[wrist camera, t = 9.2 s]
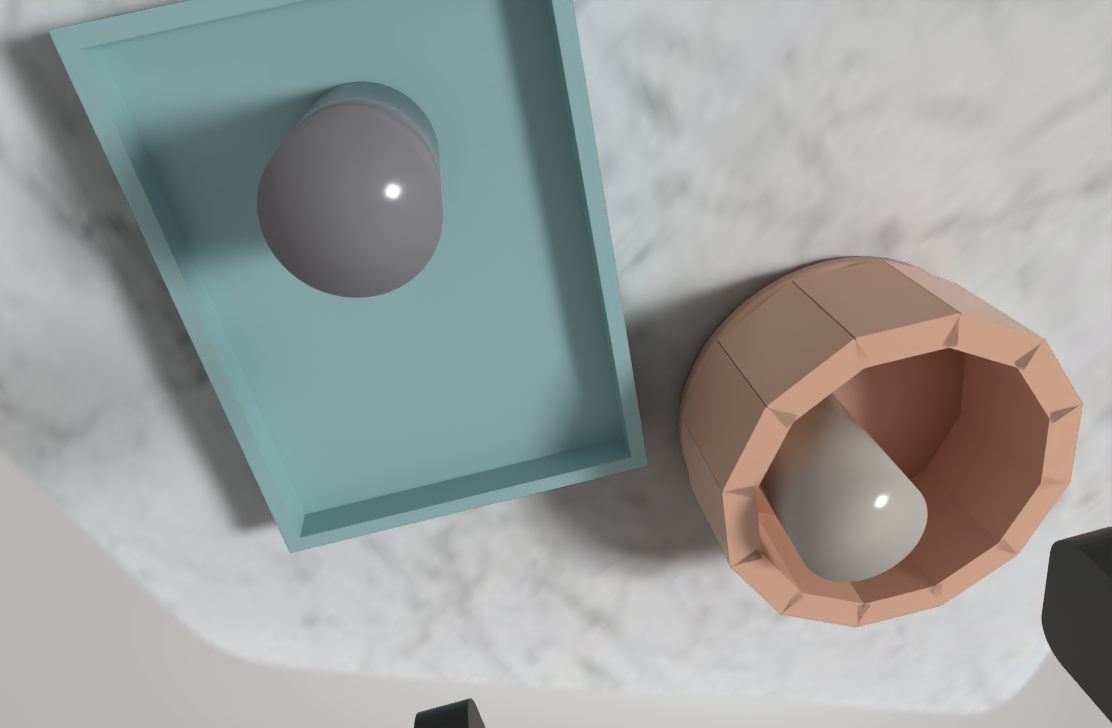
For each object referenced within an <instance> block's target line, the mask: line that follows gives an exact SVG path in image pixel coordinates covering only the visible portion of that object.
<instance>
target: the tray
mask: <svg viewBox="0 0 1112 728" xmlns="http://www.w3.org/2000/svg"><path fill="white" fill-rule="evenodd" d="M48 32H49V34H50V36H51V38H52V40H53V43H54V45H55V47H56V49H57V51H58V53H59V56H60V58H61V60H62V62H63V64H64V66H65V68H66V71H67V73H68V75H69V77H70V79H71V81H72V84H73V86H74V88H75V90H76V92H77V94H78V97H79V99H80V101H81V103H82V105H83V107H84V109H85V112H86V114H87V116H88V118H89V120H90V122H91V125H92V127H93V129H94V131H95V133H96V135H97V138H98V140H99V142H100V144H101V146H102V148H103V151H104V153H105V155H106V157H107V159H108V161H109V163H110V166H111V168H112V170H113V172H114V174H115V176H116V179H117V181H118V183H119V185H120V187H121V189H122V192H123V194H124V196H125V198H126V200H127V202H128V205H129V207H130V209H131V211H132V213H133V215H134V217H135V220H136V222H137V224H138V226H139V228H140V230H141V233H142V235H143V237H144V239H145V241H146V243H147V246H148V248H149V250H150V252H151V254H152V256H153V259H154V261H155V263H156V265H157V267H158V269H159V271H160V274H161V276H162V278H163V280H164V282H165V284H166V287H167V289H168V291H169V293H170V295H171V297H172V300H173V302H174V304H175V306H176V308H177V310H178V312H179V315H180V317H181V319H182V321H183V323H184V325H185V328H186V330H187V332H188V334H189V336H190V338H191V341H192V343H193V345H194V347H195V349H196V351H197V354H198V356H199V358H200V360H201V362H202V364H203V366H204V369H205V371H206V373H207V375H208V377H209V379H210V382H211V384H212V386H213V388H214V390H215V392H216V395H217V397H218V399H219V401H220V403H221V405H222V408H223V410H224V412H225V414H226V416H227V418H228V420H229V423H230V425H231V427H232V429H233V431H234V433H235V436H236V438H237V440H238V442H239V444H240V446H241V449H242V451H243V453H244V455H245V457H246V459H247V462H248V464H249V466H250V468H251V470H252V472H253V474H254V477H255V479H256V481H257V483H258V485H259V487H260V490H261V492H262V494H263V496H264V498H265V500H266V503H267V505H268V507H269V509H270V511H271V513H272V515H273V518H274V520H275V522H276V524H277V526H278V528H279V531H280V533H281V535H282V537H283V539H284V541H285V544H286V546H287V548H288V550H289V552H290V553H293V552H297V551H301V550H305V549H309V548H313V547H318V546H322V545H326V544H330V543H334V542H338V541H342V540H346V539H350V538H355V537H359V536H363V535H367V534H371V533H375V532H379V531H383V530H387V529H391V528H396V527H400V526H404V525H408V524H412V523H416V522H420V521H424V520H428V519H433V518H437V517H441V516H445V515H449V514H453V513H457V512H461V511H465V510H470V509H474V508H478V507H482V506H486V505H490V504H494V503H498V502H502V501H506V500H511V499H515V498H519V497H523V496H527V495H531V494H535V493H539V492H543V491H548V490H552V489H556V488H560V487H564V486H568V485H572V484H576V483H580V482H585V481H589V480H593V479H597V478H601V477H605V476H609V475H613V474H617V473H622V472H626V471H630V470H634V469H638V468H642V467H646V466H648V462H647V456H646V450H645V444H644V437H643V431H642V425H641V419H640V413H639V407H638V400H637V394H636V388H635V382H634V376H633V370H632V363H631V357H630V351H629V345H628V339H627V332H626V326H625V320H624V314H623V308H622V302H621V295H620V289H619V283H618V277H617V271H616V265H615V258H614V252H613V246H612V240H611V234H610V228H609V221H608V215H607V209H606V203H605V197H604V191H603V184H602V178H601V172H600V166H599V160H598V154H597V147H596V141H595V135H594V129H593V123H592V116H591V110H590V104H589V98H588V92H587V86H586V79H585V73H584V67H583V61H582V55H581V49H580V42H579V36H578V30H577V24H576V18H575V12H574V5H573V0H188V1H183V2H178V3H174V4H169V5H164V6H160V7H155V8H150V9H146V10H141V11H136V12H132V13H127V14H123V15H118V16H113V17H109V18H104V19H99V20H95V21H90V22H85V23H81V24H76V25H71V26H67V27H62V28H58V29H53V30H48ZM356 81H367V82H375V83H379V84H383V85H387V86H389V87H392V88H394V89H396V90H398V91H400V92H401V93H403V94H405V95H406V96H407V97H409V98H410V99H411V100H412V101H413V102H415V103H416V104H417V105H418V106H419V107H420V109H421V110H422V111H423V112H424V113H425V115H426V117H427V118H428V120H429V121H430V123H431V125H432V127H433V130H434V132H435V135H436V138H437V143H438V148H439V161H440V177H441V192H442V207H443V224H442V231H441V236H440V240H439V242H438V245H437V248H436V250H435V252H434V254H433V256H432V258H431V259H430V261H429V262H428V263H427V265H426V266H425V268H424V269H423V270H422V271H421V272H420V273H419V274H418V275H417V276H416V277H414V278H413V279H412V280H411V281H409V282H408V283H406V284H405V285H403V286H401V287H400V288H398V289H395V290H393V291H391V292H388V293H385V294H381V295H378V296H372V297H364V298H350V297H341V296H336V295H331V294H328V293H325V292H322V291H319V290H317V289H315V288H313V287H310V286H309V285H307V284H305V283H304V282H302V281H300V280H299V279H297V278H296V277H295V276H294V275H292V274H291V273H290V272H289V271H288V270H287V269H286V268H285V267H284V266H283V265H282V264H281V263H280V262H279V261H278V260H277V258H276V257H275V256H274V254H273V253H272V251H271V250H270V248H269V246H268V245H267V242H266V240H265V238H264V236H263V233H262V230H261V227H260V224H259V218H258V212H257V196H258V188H259V184H260V180H261V177H262V174H263V172H264V170H265V167H266V165H267V164H268V162H269V160H270V159H271V157H272V156H273V154H274V153H275V152H276V150H277V149H278V148H279V146H280V145H281V144H282V142H283V141H284V139H285V138H286V137H287V135H288V134H289V133H290V131H291V130H292V129H293V127H294V126H295V125H296V123H297V122H298V121H299V119H300V118H301V116H302V115H303V114H304V112H305V111H306V110H307V108H308V107H309V106H310V105H311V104H312V102H313V101H314V100H315V99H317V98H318V97H319V96H320V95H321V94H323V93H324V92H326V91H327V90H329V89H331V88H333V87H335V86H338V85H341V84H345V83H349V82H356Z"/></svg>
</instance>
